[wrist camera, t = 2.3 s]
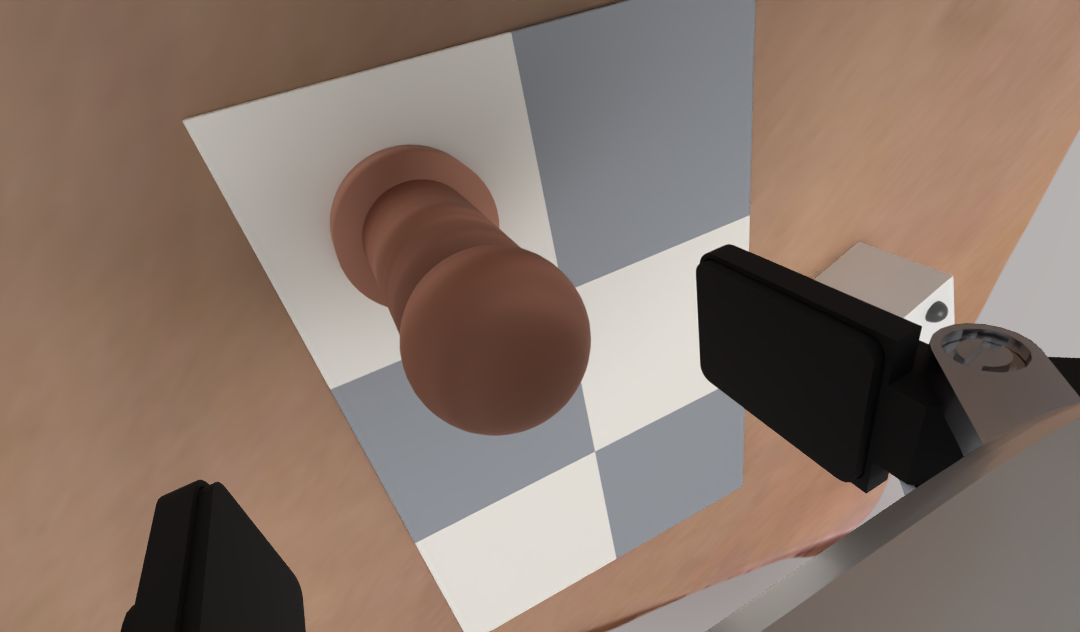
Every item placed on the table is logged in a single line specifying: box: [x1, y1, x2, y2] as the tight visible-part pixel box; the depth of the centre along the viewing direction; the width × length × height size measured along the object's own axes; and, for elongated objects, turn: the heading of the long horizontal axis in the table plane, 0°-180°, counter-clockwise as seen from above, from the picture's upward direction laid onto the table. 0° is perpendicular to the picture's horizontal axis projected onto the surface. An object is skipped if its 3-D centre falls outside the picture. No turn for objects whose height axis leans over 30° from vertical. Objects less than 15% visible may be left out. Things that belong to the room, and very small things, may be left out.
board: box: [183, 0, 755, 632], centre depth 24 cm, size 19×28×1 cm, turn 12°
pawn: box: [330, 144, 591, 436], centre depth 14 cm, size 5×5×10 cm
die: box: [814, 241, 955, 344], centre depth 28 cm, size 5×5×6 cm
